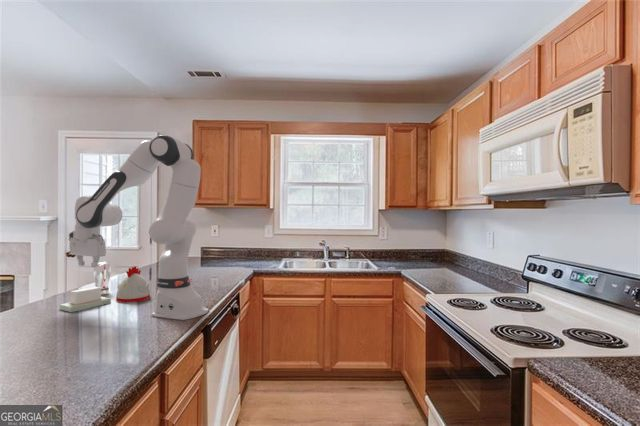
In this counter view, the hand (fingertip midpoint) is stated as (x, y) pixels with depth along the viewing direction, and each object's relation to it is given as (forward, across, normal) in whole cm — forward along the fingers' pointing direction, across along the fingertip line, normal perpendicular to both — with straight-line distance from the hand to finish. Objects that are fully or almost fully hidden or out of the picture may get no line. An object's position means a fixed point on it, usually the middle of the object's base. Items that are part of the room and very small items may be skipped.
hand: (88, 266), depth 144 cm
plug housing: (+15, +1, -2) cm, 15 cm away
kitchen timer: (+18, -4, -18) cm, 25 cm away
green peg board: (+17, +1, 0) cm, 17 cm away
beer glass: (+17, +17, -16) cm, 29 cm away
